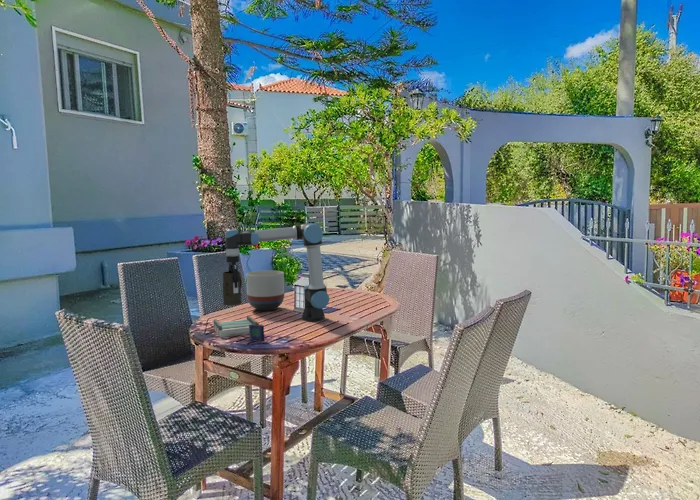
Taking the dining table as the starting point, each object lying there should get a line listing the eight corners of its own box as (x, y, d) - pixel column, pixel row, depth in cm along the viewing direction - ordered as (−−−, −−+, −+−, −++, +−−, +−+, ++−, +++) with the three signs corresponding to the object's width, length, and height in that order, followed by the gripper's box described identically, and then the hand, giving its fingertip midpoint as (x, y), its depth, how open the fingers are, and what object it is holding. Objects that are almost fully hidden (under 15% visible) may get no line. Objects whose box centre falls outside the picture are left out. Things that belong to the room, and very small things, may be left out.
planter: (274, 315, 336) (273, 276, 333) (240, 312, 345) (239, 275, 342) (290, 306, 361) (290, 271, 359) (259, 304, 370) (258, 269, 367)
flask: (248, 340, 276) (248, 321, 275) (251, 338, 279) (250, 320, 278) (263, 341, 274) (262, 322, 273) (265, 340, 276) (265, 321, 275)
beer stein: (236, 306, 286) (236, 272, 285) (219, 305, 288) (219, 272, 287) (247, 302, 301) (246, 270, 300) (230, 301, 304) (230, 270, 303)
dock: (257, 332, 292) (256, 322, 291) (220, 337, 282) (219, 326, 281) (249, 325, 310) (248, 315, 309) (213, 329, 300) (213, 319, 299)
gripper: (222, 253, 300) (223, 288, 302) (230, 257, 279) (231, 295, 281) (234, 253, 303) (235, 287, 305) (243, 257, 282) (244, 294, 284)
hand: (233, 291), depth 293 cm, fingers closed on beer stein, 11 cm apart
